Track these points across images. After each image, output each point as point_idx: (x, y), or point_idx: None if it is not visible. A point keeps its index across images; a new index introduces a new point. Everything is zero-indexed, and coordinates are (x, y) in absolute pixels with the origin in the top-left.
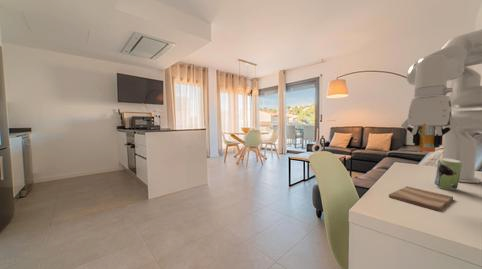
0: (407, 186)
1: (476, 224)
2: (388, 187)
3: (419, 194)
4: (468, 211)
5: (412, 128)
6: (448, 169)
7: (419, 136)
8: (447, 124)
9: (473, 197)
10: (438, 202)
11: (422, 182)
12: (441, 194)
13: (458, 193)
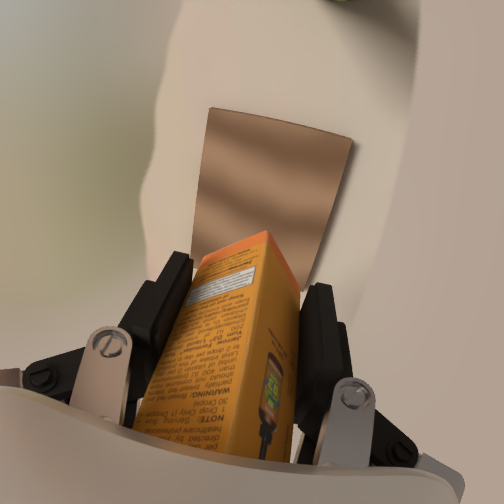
0: (211, 108)
1: (355, 310)
2: (159, 145)
3: (258, 199)
4: (366, 236)
5: (60, 398)
6: None
7: (167, 354)
8: (430, 487)
9: (408, 55)
10: (306, 248)
11: None
12: (321, 137)
13: (372, 28)
